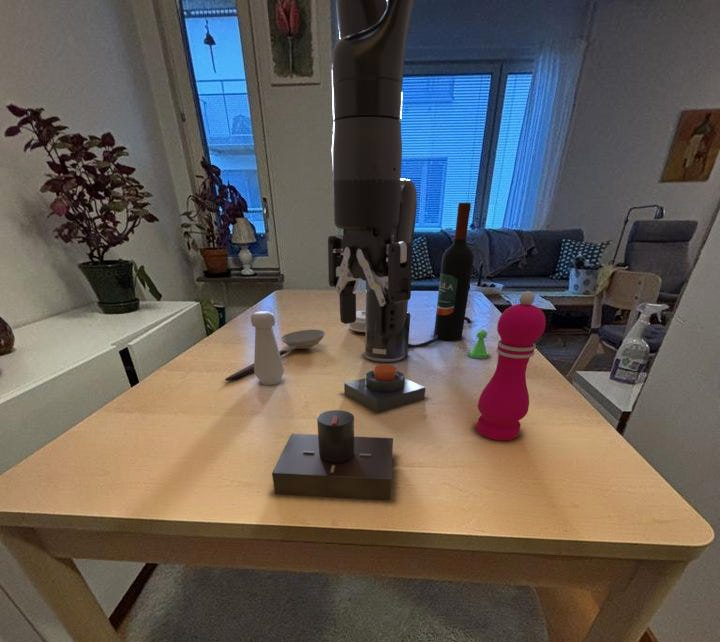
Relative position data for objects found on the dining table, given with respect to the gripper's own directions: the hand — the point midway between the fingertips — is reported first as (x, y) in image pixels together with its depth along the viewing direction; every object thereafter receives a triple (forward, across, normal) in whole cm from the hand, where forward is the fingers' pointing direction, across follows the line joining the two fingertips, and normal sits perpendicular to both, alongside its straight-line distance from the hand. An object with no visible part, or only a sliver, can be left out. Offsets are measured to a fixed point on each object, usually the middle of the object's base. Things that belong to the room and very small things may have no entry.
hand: (366, 329), depth 53 cm
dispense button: (+12, +9, -11) cm, 18 cm away
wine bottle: (+17, +32, -51) cm, 62 cm away
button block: (+16, +9, -11) cm, 21 cm away
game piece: (+17, +16, -45) cm, 50 cm away
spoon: (+16, +40, -4) cm, 43 cm away
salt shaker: (+16, +28, +3) cm, 32 cm away
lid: (+17, +50, -38) cm, 65 cm away
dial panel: (+15, -8, +10) cm, 20 cm away
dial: (+12, -8, +10) cm, 18 cm away
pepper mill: (+16, -12, -16) cm, 26 cm away
